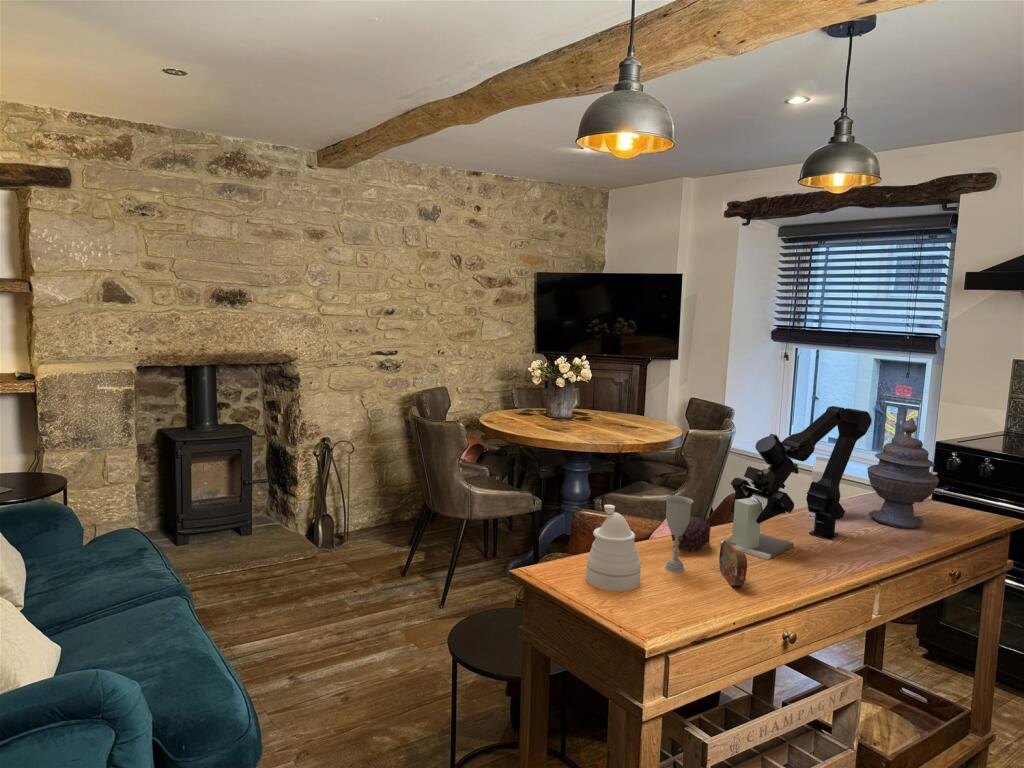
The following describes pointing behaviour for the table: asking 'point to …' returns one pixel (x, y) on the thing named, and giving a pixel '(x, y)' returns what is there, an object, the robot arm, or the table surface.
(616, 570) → the honey pot
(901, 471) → the decorative urn
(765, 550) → the mat
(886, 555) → the table surface
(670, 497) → the chalice
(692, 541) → the pine cone
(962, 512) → the table surface
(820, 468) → the milk carton
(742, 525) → the sage block
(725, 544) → the tin
